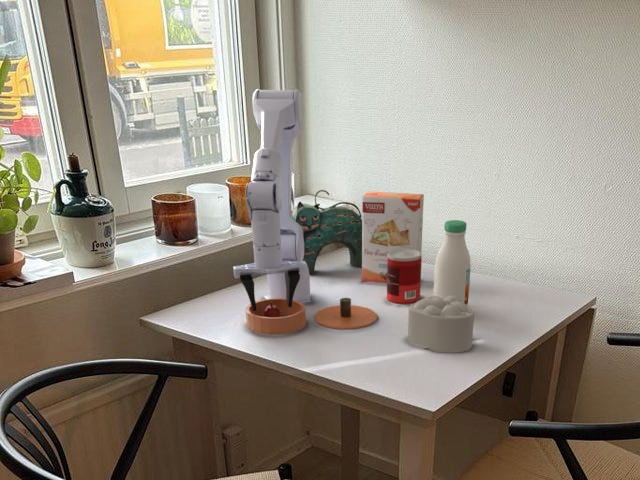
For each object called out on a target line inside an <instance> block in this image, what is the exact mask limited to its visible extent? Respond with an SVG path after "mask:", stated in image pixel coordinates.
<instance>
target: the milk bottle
mask: <svg viewBox="0 0 640 480" xmlns="http://www.w3.org/2000/svg"><path fill="white" fill-rule="evenodd" d="M467 224H468V223H467V222H466V221H464V220H459V219H451V220H446V221H445V222H444V225H443V226H444V227H443V233H444V238H443V242H442V244H441V246H440V248H439V251H438V253H437V255H436V259H435V264H434V265H435V266H434V275H433V276H434V278H433V295H435V296H438V297H440V298H444V299H446V298H447V297H448V296H457V297H458V298H459V299H460V300H461V302H462V303H465V304H466V305H468V306H469V297H470V296H469V294H470V282H471V266H472V265H471V256H470V252H469V249H468V246H467V243H466V238H465V237H466V233H467V226H468V225H467Z"/></svg>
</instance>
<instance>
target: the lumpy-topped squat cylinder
mask: <svg viewBox="0 0 640 480" xmlns="http://www.w3.org/2000/svg"><path fill="white" fill-rule="evenodd" d="M407 318H408V319H407V321H408V322H407V340H408V341H409V342H411V343H413V344H416V345H419V346H422V347H424V348H423V350H427V351H430V352H435V353H447V354H448V353H450V354H453V353H457V354H458V353H463V352H468V351H470V350H471V349H472V346H473V344H472V343H473V333H474V322H475V321H474V320H475V311H474V310H473V308H472V307H471V306H469V304H468V305H466V304H465V303H462V302H461V300H460V299H459V298H458V297H457V296H448V297H447V298H446V299H444V298H440V297H438V296H435V295H432V294H431V295H428V296H427V297H425V298H422V299H419V300H418V301H417V302H414V303H411V304H409V306H408V317H407Z"/></svg>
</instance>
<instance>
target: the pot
mask: <svg viewBox="0 0 640 480" xmlns="http://www.w3.org/2000/svg"><path fill="white" fill-rule="evenodd" d="M271 302H272V305H276V306H277V308H278V309H279V311H280V314H281V315H284V316H280V317H264V311H265V309H266V307H267V306H268V305H271V304H270V303H271ZM255 303H256V311H253V310H252V308H251V303H249V304H248V305H247V306H246V307H245V318H246V326H247V328H248V329H249V330H251V331H252V332H254V333H258V334H263V335H285V334H291V333H294V332H297V331H299V330H302V329H304V327H305V326H306V325H307V317H306V315H307V314H306V313H307V312H306V305H305V303H301V302H299V301H297V300H292V307H288V306H287V302H286V299H284V298H271V299H265V298H264V299H260V300H255Z"/></svg>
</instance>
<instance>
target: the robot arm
mask: <svg viewBox="0 0 640 480" xmlns="http://www.w3.org/2000/svg"><path fill="white" fill-rule="evenodd" d="M252 114H253V118H254V119H255V122H256V126H257V129H258V130H259V133H260V135H261V136H260V148H259V149H258V150H256V151H255V153H254V156H253V164H252V171H251V177H250V182H249V183H248V182H247V183H246V185H245V193H244V194H245V205H246V209H247V213H248V220H249V221H250V223H251V224H250V225H251V234H252V235H251V236H252V246H253V247H252V249H253V260H254V262H251V263H246V264H241V265H234V266H232V269H233V276H234V279H239V280H240V282H241V284H242V285H243V287H244V289H245V291H246V294H247V296H248V300H249V304H251V308H252V310H253V311H256V303H255V302H256V295H255V281H254V278H253V277H254V276H265V275H266V280H267V290H268V291H267V292H268V293H267V295H264V296H263V298H264V299H271V298H284V299H286V302H287V306H288V307H292V300H297V301H299V302H301V303H303V304H305V303H311V302H312V300H311V278H310V277H311V276H310V274H309V269H308V266H307V264H306V262H305V261H302V260H303V258H304V238H303V230H302V227H301V226H300V225H299V224H298V223H297V222H295V221H294V220H293V219H292V184H293V183H292V180H293V179H292V177H293V147H294V141H295V139H296V138H298V137H300V136H301V135H302V130H303V97H302V93H301V91H300V90H299V89H298V88H297V89H296V88H295V89H259V88H257V89H255V91H254V92H253V93H252Z"/></svg>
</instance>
